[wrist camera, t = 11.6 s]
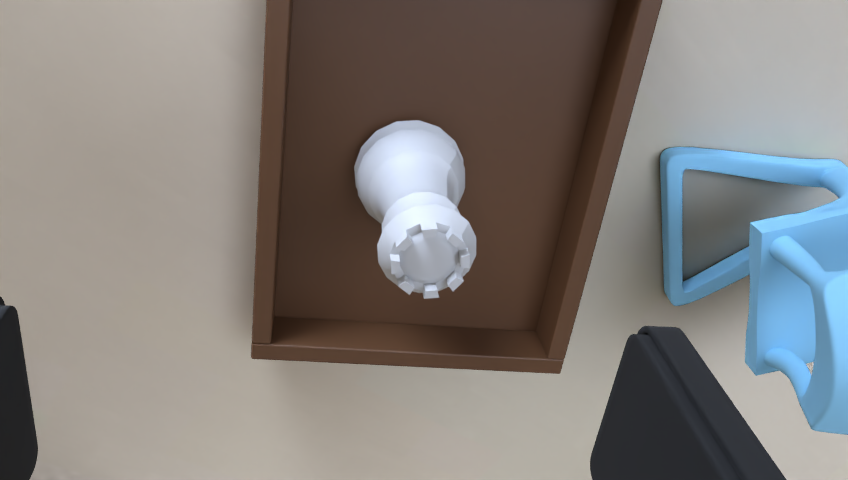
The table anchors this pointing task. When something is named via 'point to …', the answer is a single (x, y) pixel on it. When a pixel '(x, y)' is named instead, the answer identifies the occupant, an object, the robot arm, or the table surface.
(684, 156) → the chair
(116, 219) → the table surface
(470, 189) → the tray
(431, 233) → the rook chess piece
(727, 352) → the table surface
